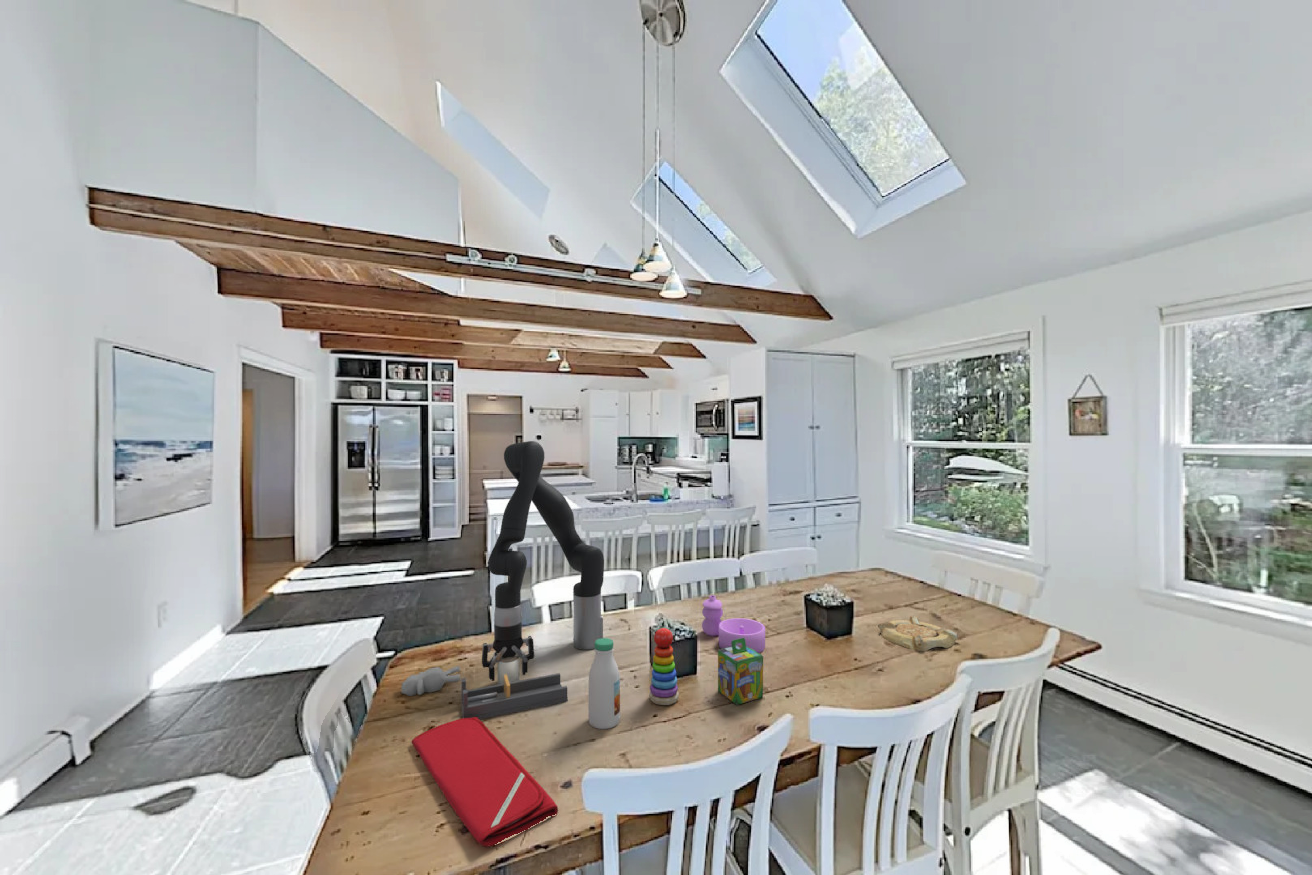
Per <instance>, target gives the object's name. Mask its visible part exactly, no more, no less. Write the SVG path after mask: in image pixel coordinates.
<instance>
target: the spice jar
mask: <svg viewBox="0 0 1312 875" xmlns="http://www.w3.org/2000/svg"><path fill="white" fill-rule="evenodd" d="M496 664H497V667H496V668H497V685H498V684H504V675H507V677H508V680H509V682H515V681H520V657H519V656H518V655H517V654H516V655H514V656H513V657H506V658H503V657H501V658H500V659H499V661H498V662H497V663H496Z"/></svg>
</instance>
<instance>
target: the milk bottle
mask: <svg viewBox="0 0 1312 875" xmlns="http://www.w3.org/2000/svg"><path fill="white" fill-rule="evenodd" d="M613 651H614V641H613V639H612V638H608V637H603V638H601V639H598V640H596V641H595V648H594V652H595V655H594V658H593V662H592V664H591V666H590V669H589V672H588V723H589V725H590V726H591V727H592V728H595V729H599V730H608V729H612V728H614V727H616V726H618V724H619V723H620V720H621V692H620V691H621V689H620V688H621V686H620V685H621V680H620V678H621V677H620V671H619V667H618V664H617V662H616V660H615V657H614V654H613Z"/></svg>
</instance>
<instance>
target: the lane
mask: <svg viewBox="0 0 1312 875" xmlns="http://www.w3.org/2000/svg"><path fill="white" fill-rule="evenodd" d="M460 681H461V682H460V683H461V684H460V685H461V691H460V692H461V700H460V701H461V704H460V705H461V713H462V718H472V717H477V718H478V719H479V720H480V721H481V720H484V719H488V718H493V717H499V716H502V715H503V716H505V715H508V714H513V713H518V712H522V711H527V710H533V709H536V708H537V709H538V708H541V707H546V706H551V705H555V704H556V705H557V704H560V703H566V702H568V686H566V685H565V686H564V685H563V686H562V683H561V674H560V672H559V673H554V674H548V675H543V676H537V677H536V676H535V677H532V678H527V679H521V680H520V679H519V681H515V682H509V683H510V697H509V698H504V699H499V700H493V701H488V702H483V703H481V699H480V700H475V701H470V702H468V697H474V696H479V695H484V694H489V693H495V692H497V694H498V693H503V692H504V684H498V683H497V684H495V685H488V686H484V687H479V688H478V687H477V688H473V689H472V688H471V689H467V680H466V677H464V678H463V677H462V678H460Z"/></svg>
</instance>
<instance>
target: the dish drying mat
mask: <svg viewBox="0 0 1312 875" xmlns="http://www.w3.org/2000/svg"><path fill="white" fill-rule="evenodd" d="M411 745H413V748H414V749H415V750H416V752H417V753H418V755H419V756H420V758H421V760H422V762H423V764H424V765H425V767H426V769H427V771H428V772H429V774H430V775H431V776H432V778H433V780H434V782H435V783H436V784H437V786H438V787H439V789H440V791H441V792H442V793H443V795H444V797H445V799H446V801H447V802H448V803H449V805H450V806H451V808H452V809H453V811H454V812H455V814H456V815H457V817H458V818H459V819H460V821H461V822H462V823H463V825H464V826H465V827H466V829H467V830H468V832H469V833H470V834H471V836H472V837H473V839H475V840H476V841H477V843H479V844H480V846H483V847H493V845H495V844H497V843H498V842H501V841H502V840H504V839H505V838H508V837H510V836H512V835H514V834H518V833H520V832H522V831H524V830H527V829H528V828H530V827H531V826H533V825H535V824H537V823H539V822H540V821H543V820H544V819H546V817H548V816H552V815H555V814H557V815H558V812H559V807H558V805H557V804H556V802H555V801H554V799H552V797H551V795H549V794H548V792H546V790H545V789H544V788H543V786H542V785H541V784H540V783H539V782H538V781H537V780H536V779H535V777H533V776H532V774H530V773H529V771H527V769H526V768H525V767H524V766H523V765H522V764H521V762H520V761H519V760H518V759H517V758H516V757H515V756H514V755H513V754H512V753H511V752H510V751H509V750H508V749H507V747H505V746H504V744H503V743H502V742H500V740H499V739H498V738H497V737H496V736H495V735H494V733H493V732H492V731H491V730H490V729H489V728H488V727H487V726H486V724H485V723H484V722H483V721H481V719H480V720H479V719H478V718H477V717H472V718H463V717H462V718H459V719H454V720H452V721H448V722H445V723H442V724H440V725H438V726H436V727H435V726H434V727H433V728H431V729H429V730H426V731H424V732H422V733H420V734H419V735H417V736H415V737H413V739H412V740H411ZM530 829H531V828H530ZM528 830H529V829H528ZM528 830H527V831H528ZM495 846H496V845H495Z"/></svg>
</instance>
